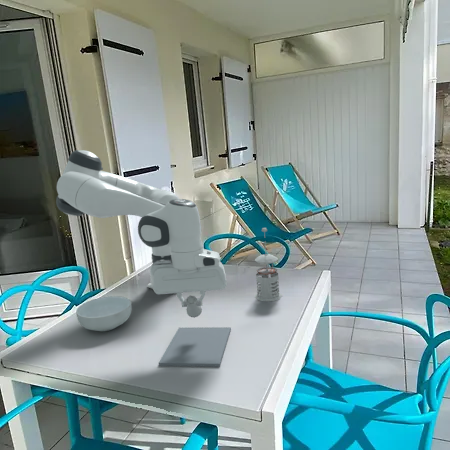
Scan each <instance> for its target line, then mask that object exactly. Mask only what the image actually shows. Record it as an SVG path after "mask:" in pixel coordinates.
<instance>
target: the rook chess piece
mask: <svg viewBox="0 0 450 450" xmlns="http://www.w3.org/2000/svg"><path fill="white" fill-rule="evenodd" d="M197 298H198V297H196V296H195V295H189V296H187V298H185V299H186V304H187V305H188V306H187V307H186V309H185V310H186V314H187V316H189V317H190V318H198V317H199V316H200V315H201V314H202V311H203V309H202V306H197Z"/></svg>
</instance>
